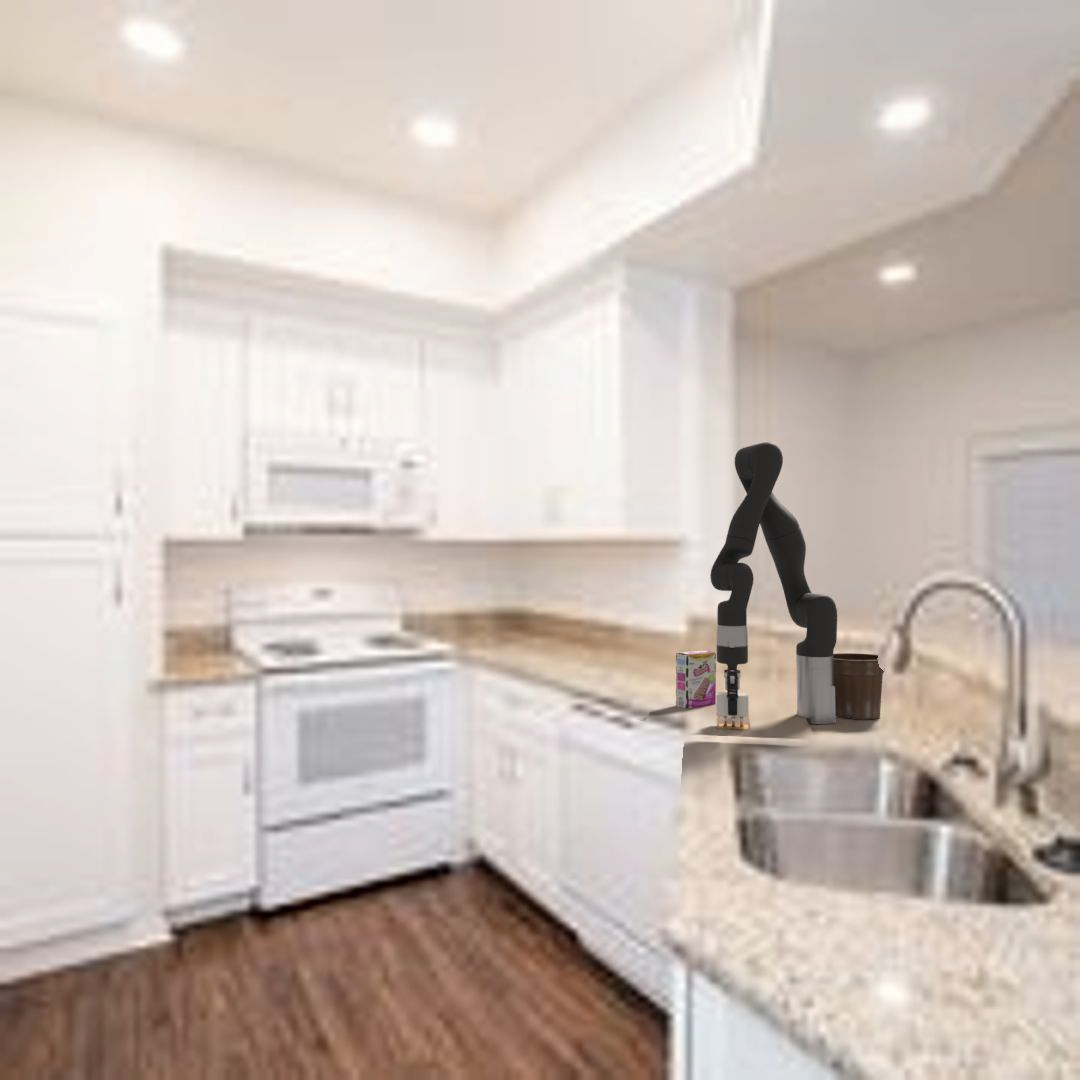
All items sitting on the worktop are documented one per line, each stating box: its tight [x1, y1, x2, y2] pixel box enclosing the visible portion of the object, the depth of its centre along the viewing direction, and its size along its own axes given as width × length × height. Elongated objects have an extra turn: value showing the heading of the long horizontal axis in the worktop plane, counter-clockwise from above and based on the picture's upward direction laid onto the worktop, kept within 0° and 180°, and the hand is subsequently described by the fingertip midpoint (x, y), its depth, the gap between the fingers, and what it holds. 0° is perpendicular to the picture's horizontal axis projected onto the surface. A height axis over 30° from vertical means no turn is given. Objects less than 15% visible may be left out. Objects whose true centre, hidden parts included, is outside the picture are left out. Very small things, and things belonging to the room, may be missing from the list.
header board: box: [716, 716, 752, 732], centre depth 203 cm, size 8×20×2 cm, turn 167°
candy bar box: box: [675, 650, 717, 709], centre depth 226 cm, size 11×5×16 cm, turn 122°
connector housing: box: [715, 691, 750, 718], centre depth 198 cm, size 8×4×5 cm, turn 77°
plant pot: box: [833, 652, 885, 721], centre depth 217 cm, size 16×16×16 cm
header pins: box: [723, 716, 744, 727], centre depth 198 cm, size 5×1×3 cm, turn 77°
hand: (732, 712), depth 198 cm, fingers closed on connector housing, 4 cm apart
